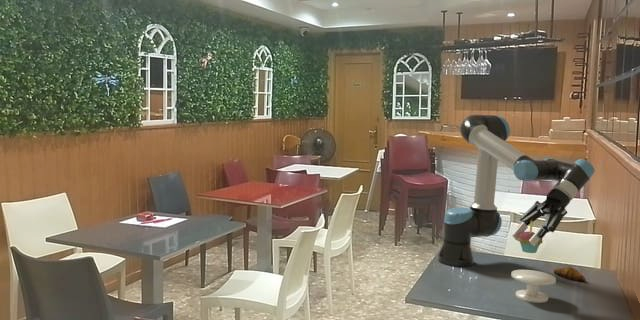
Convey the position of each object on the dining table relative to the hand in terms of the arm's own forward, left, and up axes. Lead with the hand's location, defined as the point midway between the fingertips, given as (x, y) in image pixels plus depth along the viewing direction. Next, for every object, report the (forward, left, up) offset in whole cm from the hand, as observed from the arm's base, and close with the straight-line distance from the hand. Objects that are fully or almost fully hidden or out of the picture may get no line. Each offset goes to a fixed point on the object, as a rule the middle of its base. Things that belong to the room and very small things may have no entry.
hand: (522, 240), depth 194 cm
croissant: (+11, +41, -22) cm, 47 cm away
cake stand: (+4, +4, -21) cm, 22 cm away
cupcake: (+2, +3, -4) cm, 5 cm away
